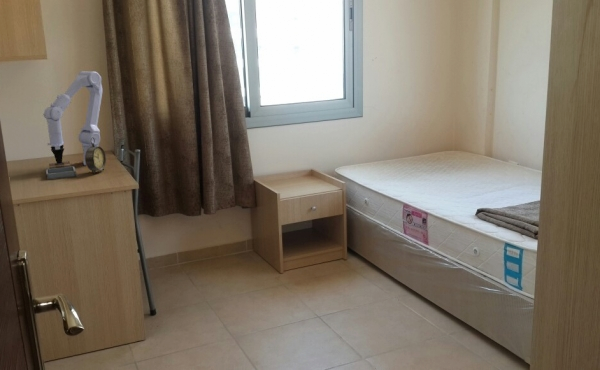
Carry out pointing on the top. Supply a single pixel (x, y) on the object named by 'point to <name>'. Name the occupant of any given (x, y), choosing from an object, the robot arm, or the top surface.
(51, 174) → the tray
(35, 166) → the top surface
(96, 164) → the alarm clock
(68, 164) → the block
